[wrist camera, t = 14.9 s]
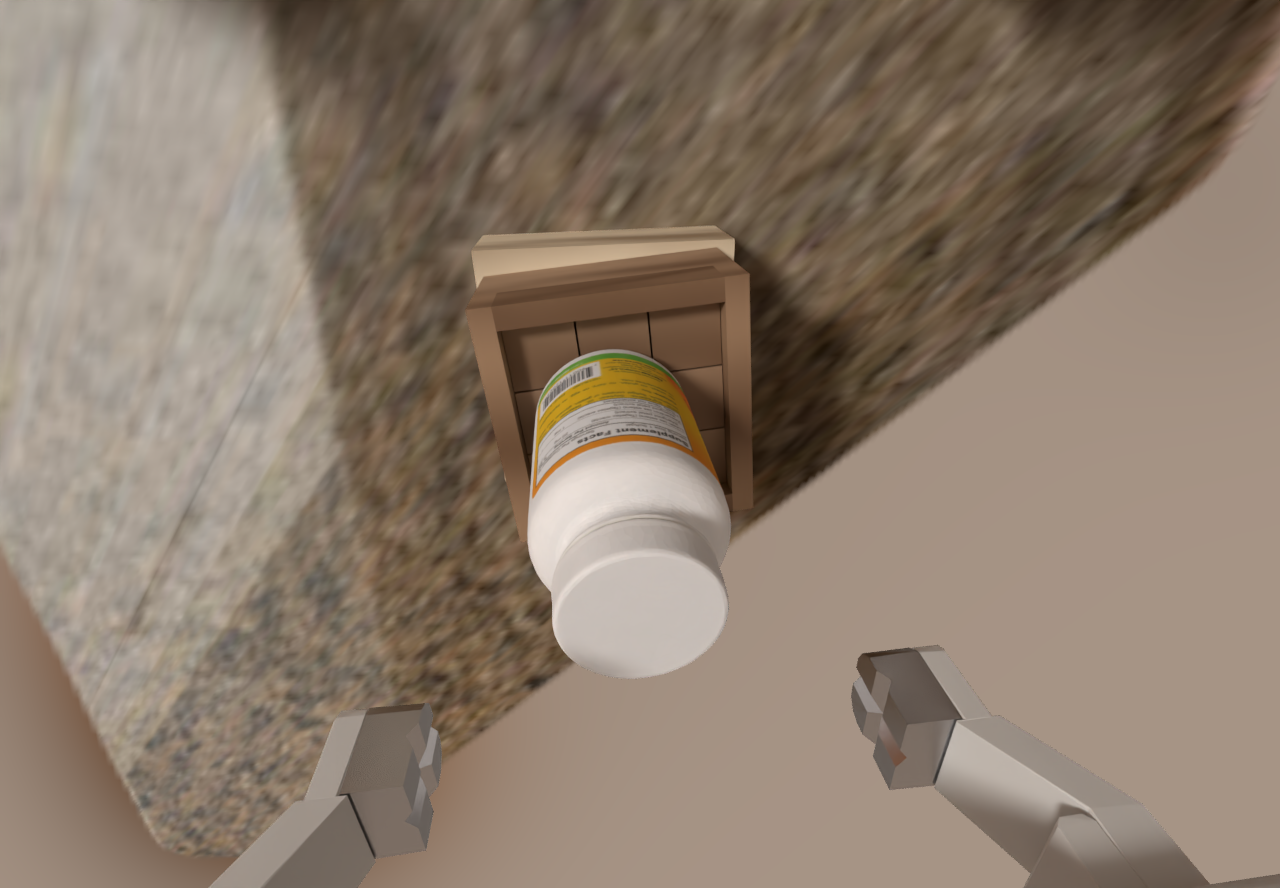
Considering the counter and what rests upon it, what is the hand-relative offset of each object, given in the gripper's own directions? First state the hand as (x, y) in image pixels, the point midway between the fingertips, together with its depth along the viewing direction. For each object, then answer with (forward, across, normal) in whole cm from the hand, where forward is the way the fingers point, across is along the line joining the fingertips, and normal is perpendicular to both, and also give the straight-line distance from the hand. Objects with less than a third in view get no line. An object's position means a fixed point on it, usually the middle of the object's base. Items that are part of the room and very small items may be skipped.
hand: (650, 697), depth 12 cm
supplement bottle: (+12, 0, 0) cm, 12 cm away
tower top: (+16, 0, 0) cm, 16 cm away
